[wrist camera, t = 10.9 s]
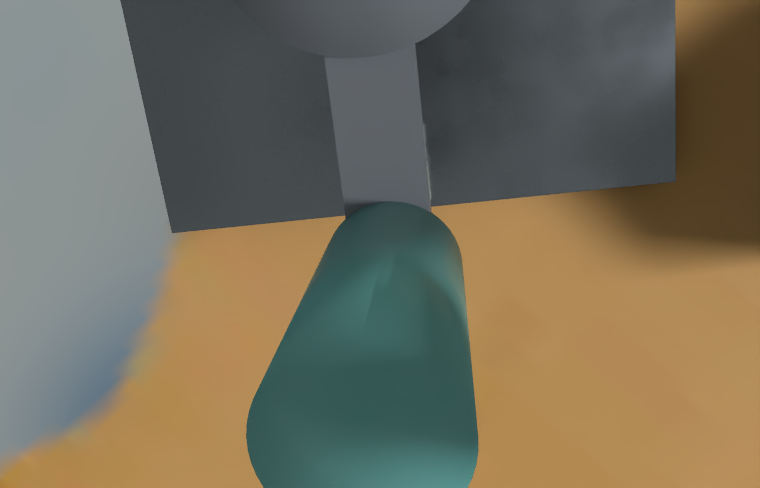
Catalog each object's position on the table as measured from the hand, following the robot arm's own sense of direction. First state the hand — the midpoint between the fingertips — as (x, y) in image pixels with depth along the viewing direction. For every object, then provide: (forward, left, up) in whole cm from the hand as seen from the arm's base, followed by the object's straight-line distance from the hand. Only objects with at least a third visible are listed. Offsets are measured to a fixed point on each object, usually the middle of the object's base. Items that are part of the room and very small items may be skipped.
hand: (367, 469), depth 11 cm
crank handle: (-6, 0, -13) cm, 14 cm away
